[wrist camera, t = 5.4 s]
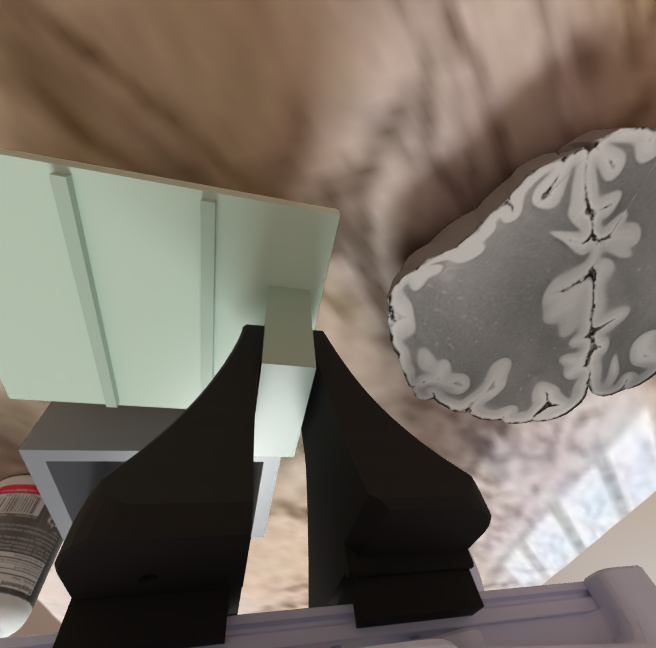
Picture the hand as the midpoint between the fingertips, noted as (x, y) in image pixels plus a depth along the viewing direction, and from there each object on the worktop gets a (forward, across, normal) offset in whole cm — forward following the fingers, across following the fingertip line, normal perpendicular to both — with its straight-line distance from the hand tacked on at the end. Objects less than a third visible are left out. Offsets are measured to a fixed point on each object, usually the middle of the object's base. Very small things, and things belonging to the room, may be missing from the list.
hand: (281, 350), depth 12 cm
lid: (+2, +4, 0) cm, 5 cm away
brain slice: (+6, -15, -2) cm, 17 cm away
